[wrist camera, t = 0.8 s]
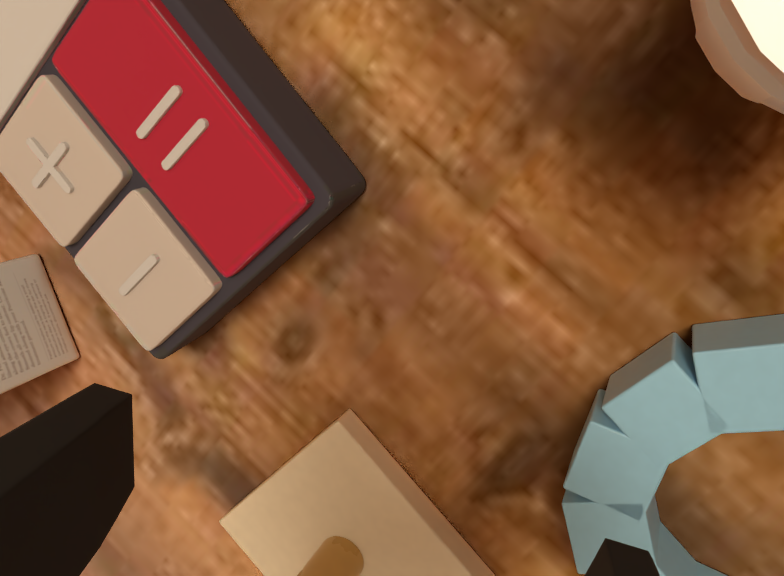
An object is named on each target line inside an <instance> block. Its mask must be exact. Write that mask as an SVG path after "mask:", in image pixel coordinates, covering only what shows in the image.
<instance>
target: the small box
mask: <svg viewBox="0 0 784 576" xmlns="http://www.w3.org/2000/svg"><path fill="white" fill-rule="evenodd" d="M78 358H79V353H78V351H77V348H76V346H75V344H74V341H73V339H72V336H71V334H70V332H69V329H68V327H67V324H66V322H65V319H64V317H63V314H62V312H61V309H60V306H59V304H58V301H57V299H56V296H55V294H54V291H53V289H52V286H51V283H50V281H49V278H48V276H47V273H46V271H45V268H44V266H43V263H42V261H41V259H40V257H39V255H37V254H33V255H29V256H25V257H21V258H17V259H13V260H9V261H6V262H2V263H0V394H2V393H5V392H7V391H9V390H11V389H13V388H15V387H18V386H20V385H22V384H24V383H26V382H28V381H30V380H32V379H35V378H37V377H39V376H41V375H43V374H45V373H47V372H50V371H52V370H54V369H56V368H58V367H61V366H63V365H65V364H68V363H70V362H72V361H75V360H77V359H78Z"/></svg>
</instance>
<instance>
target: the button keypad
mask: <svg viewBox="0 0 784 576" xmlns="http://www.w3.org/2000/svg"><path fill="white" fill-rule="evenodd" d="M0 172H1V173H2V174H3V175H4V177H5V178H6V179H7V180H8V182H9V183H10V184H11V185H12V187H13V188H14V189H15V190H16V192H17V193H18V194H19V195H20V196H21V198H22V199H23V200H24V201H25V203H26V204H27V205H28V206H29V208H30V209H31V210H32V211H33V213H34V214H35V215H36V216H37V217H38V219H39V220H40V221H41V222H42V224H43V225H44V226H45V227H46V229H47V230H48V231H49V232H50V234H51V235H52V236H53V237H54V238H55V240H56V241H57V242H58V243H59V244H60V245H61V246H64V247H65V248H66V249H67V250H68V252H69V253H70V254H71V255H72V256H73V258H74V259H75V260H74V261H75V263H76V265H77V267H78V268H79V269H80V271H81V272H82V273H83V274H84V275H85V277H86V278H87V279H88V280H89V282H90V283H91V284H92V285H93V287H94V288H95V289H96V290H97V292H98V293H99V294H100V295H101V296H102V298H103V299H104V300H105V301H106V303H107V304H108V305H109V306H110V308H111V309H112V310H113V311H114V313H115V314H116V315H117V316H118V317H119V319H120V320H121V321H122V322H123V324H124V325H125V326H126V327H127V329H128V330H129V331H130V332H131V334H132V335H133V336H134V337H135V338H136V340H137V341H138V342H139V343H140V345H141V346H142V347H143V348H144V349H146V350H148V351H149V352H150V353H151V354H152V355H153V356H154V357H156V358H158V359H164V358H166V357H168V356H169V355H171V354H173V353H174V352H176V351H177V350H179V349H181V348H182V347H184V346H185V345H187V344H189V343H190V342H192V341H193V340H195V339H197V338H198V337H200V336H201V335H203V334H204V333H206V332H207V331H208V330H209V329H210V328H212V327H213V326H214V325H215V324H216V323H217V322H218V321H220V320H221V319H222V318H223V317H224V316H225V315H226V314H227V313H229V312H230V311H231V310H232V309H233V308H234V307H235V306H236V305H238V304H239V303H240V302H241V301H242V300H243V299H244V298H245V297H247V296H248V295H249V294H250V293H251V292H252V291H253V290H254V289H256V288H257V287H258V286H259V285H260V284H261V283H262V282H263V281H265V280H266V279H267V278H268V277H269V276H270V275H271V274H272V273H273V272H275V271H276V270H277V269H278V268H279V267H280V266H281V265H282V264H284V263H285V262H286V261H287V260H288V259H289V258H290V257H291V256H293V255H294V254H295V253H296V252H297V251H298V250H299V249H300V248H302V247H303V246H304V245H305V244H306V243H307V242H308V241H309V240H311V239H312V238H313V237H314V236H315V235H316V234H317V233H318V232H320V231H321V230H322V229H323V228H324V227H325V226H326V225H327V224H329V223H330V222H331V221H332V220H333V219H334V218H335V217H336V216H338V215H339V214H340V213H341V212H342V211H343V210H344V209H345V208H347V207H348V206H349V205H350V204H351V203H352V202H353V201H354V200H356V199H357V198H358V197H359V196H360V195H361V194H362V193H363V191H364V190H365V180H364V178H363V176H362V175H361V173H360V172H359V171H358V169H357V168H356V167H355V166H354V164H353V163H352V162H351V161H350V159H349V158H348V157H347V156H346V154H345V153H344V152H343V150H342V149H341V148H340V147H339V145H338V144H337V143H336V142H335V140H334V139H333V138H332V137H331V135H330V134H329V133H328V132H327V130H326V129H325V128H324V126H323V125H322V124H321V123H320V121H319V120H318V119H317V118H316V116H315V115H314V114H313V113H312V111H311V110H310V109H309V107H308V106H307V105H306V104H305V102H304V101H303V100H302V99H301V97H300V96H299V95H298V94H297V92H296V91H295V90H294V89H293V87H292V86H291V85H290V83H289V82H288V81H287V80H286V78H285V77H284V76H283V75H282V73H281V72H280V71H279V70H278V68H277V67H276V66H275V64H274V63H273V62H272V61H271V59H270V58H269V57H268V56H267V54H266V53H265V52H264V51H263V49H262V48H261V47H260V46H259V44H258V43H257V42H256V40H255V39H254V38H253V37H252V35H251V34H250V33H249V32H248V30H247V29H246V28H245V27H244V25H243V24H242V23H241V21H240V20H239V19H238V18H237V16H236V15H235V14H234V13H233V11H232V10H231V9H230V8H229V6H228V5H227V4H226V2H225V1H224V0H0Z"/></svg>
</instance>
